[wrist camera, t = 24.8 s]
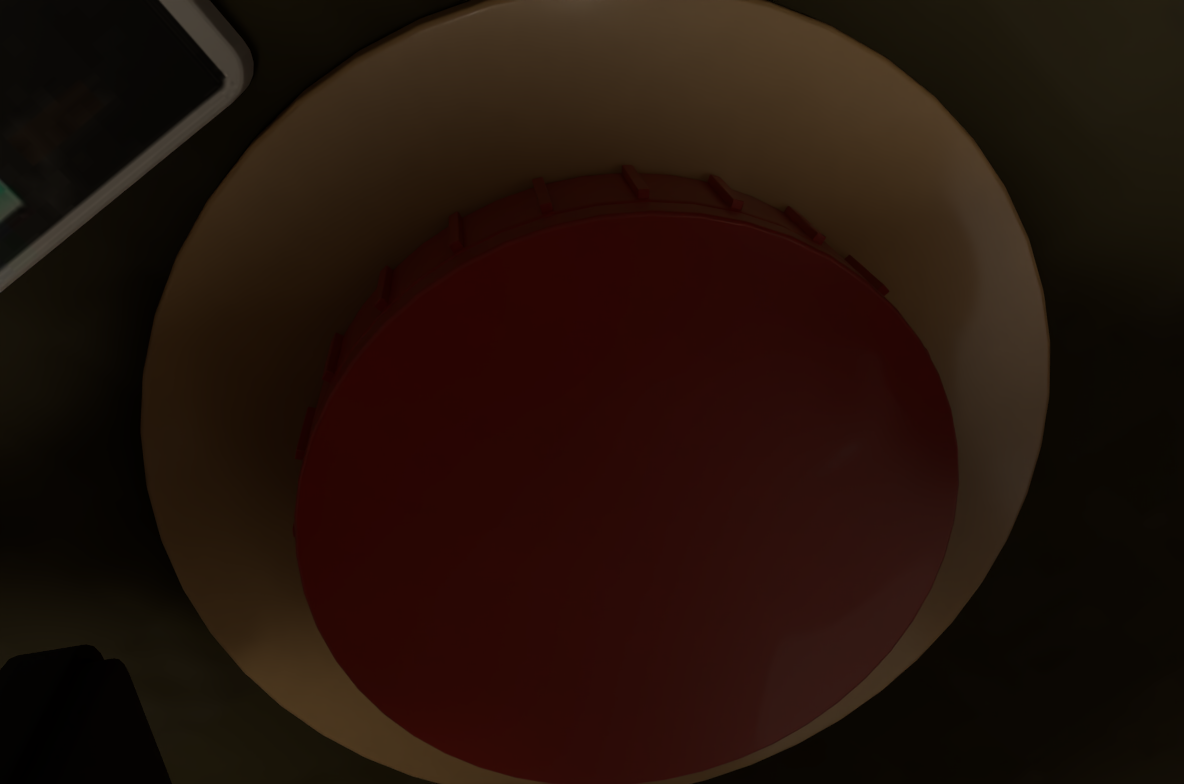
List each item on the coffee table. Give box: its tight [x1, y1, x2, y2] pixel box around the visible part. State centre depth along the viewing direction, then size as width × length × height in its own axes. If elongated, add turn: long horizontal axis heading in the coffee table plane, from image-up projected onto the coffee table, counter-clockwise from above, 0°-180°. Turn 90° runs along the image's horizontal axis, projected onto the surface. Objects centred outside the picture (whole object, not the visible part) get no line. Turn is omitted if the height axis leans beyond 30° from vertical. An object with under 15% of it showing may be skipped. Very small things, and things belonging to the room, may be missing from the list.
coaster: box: [140, 0, 1050, 784], centre depth 12 cm, size 10×10×1 cm
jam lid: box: [292, 165, 959, 784], centre depth 11 cm, size 7×7×1 cm
